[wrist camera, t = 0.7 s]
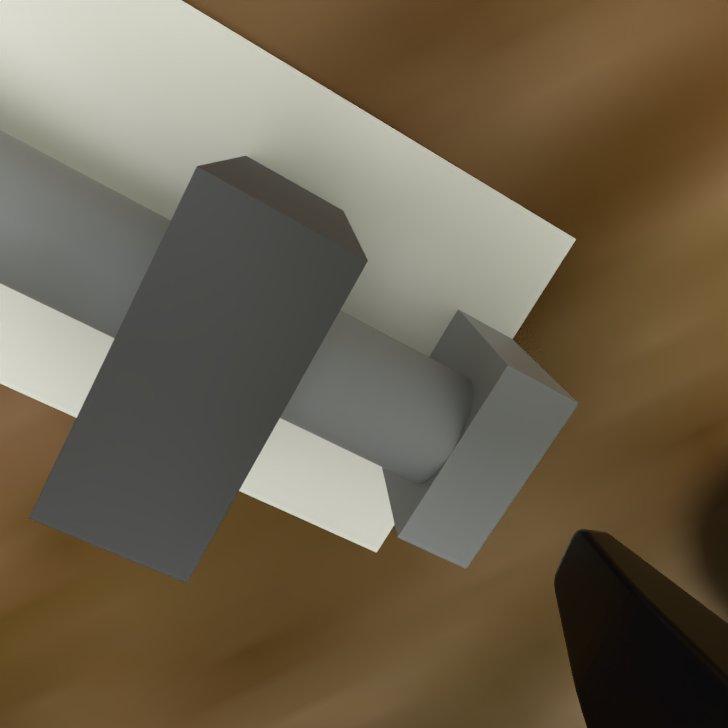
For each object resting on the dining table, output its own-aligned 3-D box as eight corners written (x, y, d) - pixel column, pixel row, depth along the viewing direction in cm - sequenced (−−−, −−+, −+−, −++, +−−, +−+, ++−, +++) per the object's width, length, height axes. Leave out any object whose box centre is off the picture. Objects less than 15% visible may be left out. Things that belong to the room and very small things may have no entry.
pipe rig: (564, 234, 21) (672, 274, 15) (373, 536, 24) (397, 677, 18) (-347, -316, 16) (-789, -624, 9) (-458, 158, 19) (-857, 166, 12)
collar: (343, 210, 19) (367, 260, 11) (234, 411, 21) (186, 583, 13) (246, 155, 18) (196, 165, 10) (141, 367, 20) (28, 518, 12)
